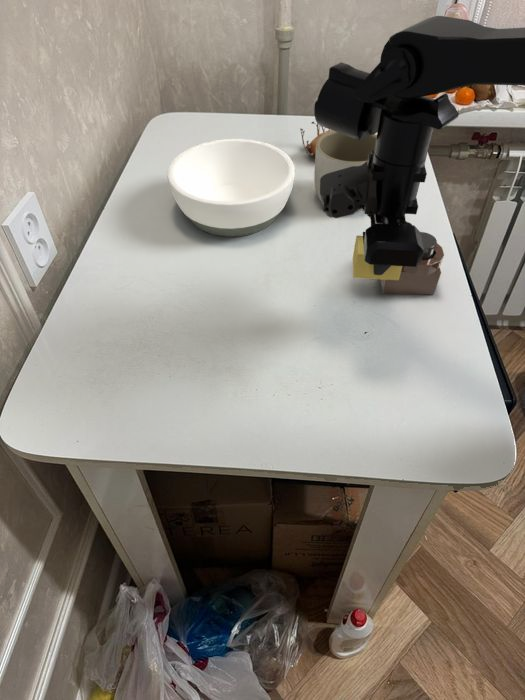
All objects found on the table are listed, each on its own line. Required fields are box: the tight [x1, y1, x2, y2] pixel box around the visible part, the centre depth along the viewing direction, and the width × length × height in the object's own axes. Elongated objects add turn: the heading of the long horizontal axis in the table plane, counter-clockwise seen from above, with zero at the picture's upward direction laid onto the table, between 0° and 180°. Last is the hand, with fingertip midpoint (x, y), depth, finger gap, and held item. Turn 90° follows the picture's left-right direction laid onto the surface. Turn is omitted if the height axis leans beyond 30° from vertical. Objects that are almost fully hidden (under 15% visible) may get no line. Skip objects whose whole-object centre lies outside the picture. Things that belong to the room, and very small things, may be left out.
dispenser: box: [380, 242, 445, 295], centre depth 79 cm, size 9×8×6 cm
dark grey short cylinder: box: [420, 231, 438, 260], centre depth 75 cm, size 4×4×2 cm
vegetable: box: [299, 121, 333, 158], centre depth 104 cm, size 16×11×10 cm
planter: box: [313, 131, 377, 211], centre depth 92 cm, size 12×12×11 cm
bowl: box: [167, 138, 296, 238], centre depth 91 cm, size 22×22×8 cm
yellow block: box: [352, 235, 402, 280], centre depth 66 cm, size 6×4×4 cm, turn 85°
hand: (376, 263), depth 67 cm, fingers closed on yellow block, 4 cm apart
